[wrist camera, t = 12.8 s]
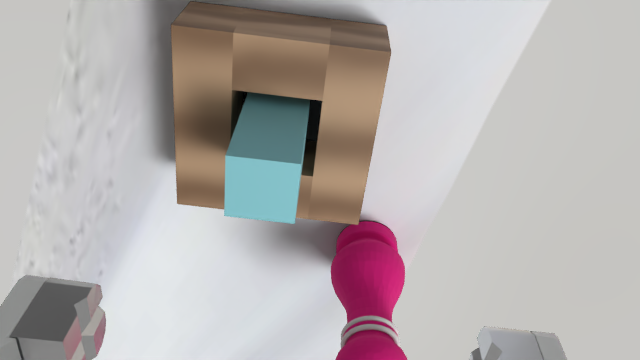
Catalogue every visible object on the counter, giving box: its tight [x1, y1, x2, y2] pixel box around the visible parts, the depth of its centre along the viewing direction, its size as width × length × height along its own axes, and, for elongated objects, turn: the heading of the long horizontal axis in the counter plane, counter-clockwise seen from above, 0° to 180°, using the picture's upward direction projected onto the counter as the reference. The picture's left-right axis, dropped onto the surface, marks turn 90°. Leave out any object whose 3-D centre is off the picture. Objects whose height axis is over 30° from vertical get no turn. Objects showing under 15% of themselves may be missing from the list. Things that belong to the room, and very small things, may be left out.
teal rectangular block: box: [224, 92, 310, 224], centre depth 44 cm, size 5×5×14 cm
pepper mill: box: [331, 221, 407, 360], centre depth 50 cm, size 7×7×20 cm
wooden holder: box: [171, 1, 391, 225], centre depth 48 cm, size 16×16×6 cm
